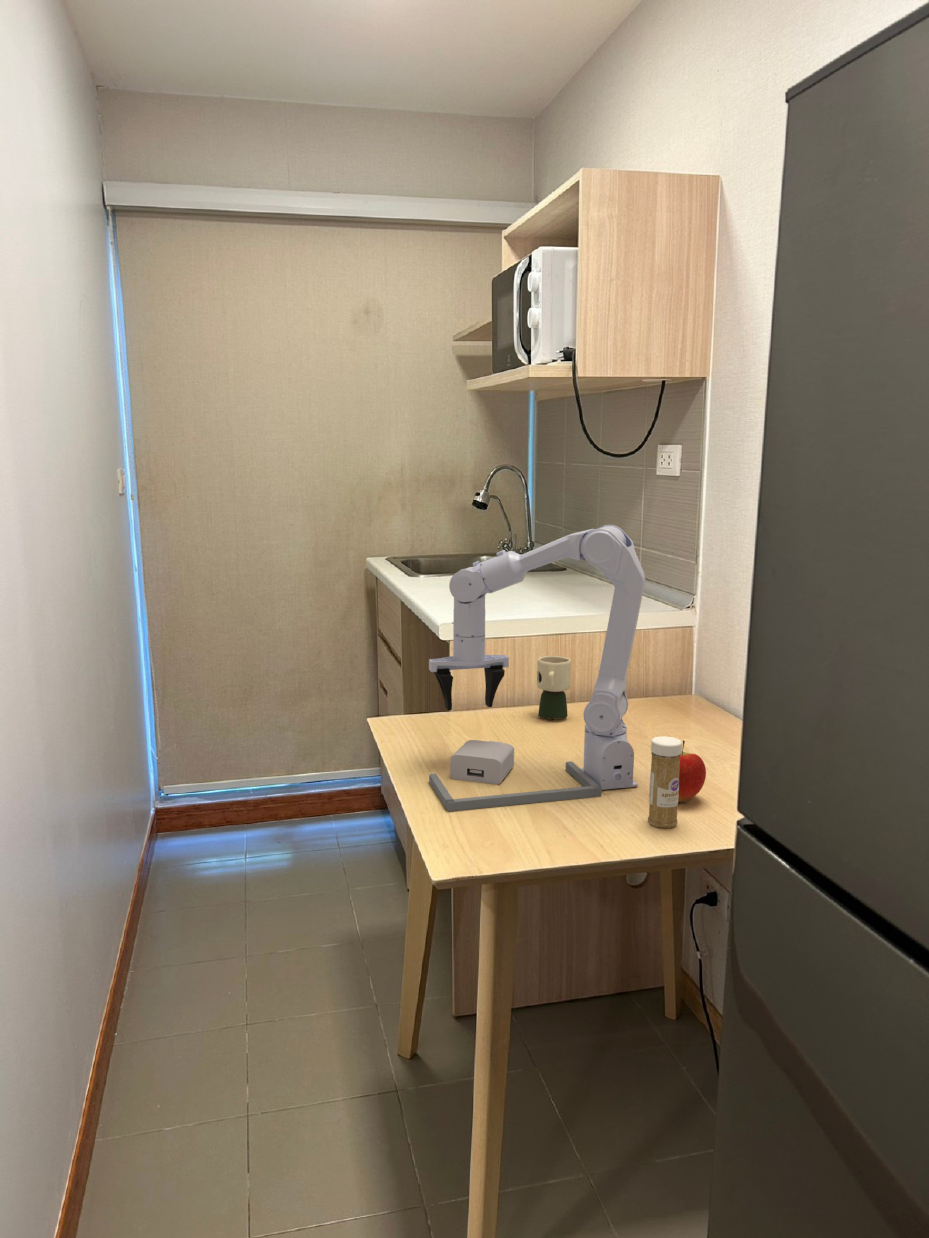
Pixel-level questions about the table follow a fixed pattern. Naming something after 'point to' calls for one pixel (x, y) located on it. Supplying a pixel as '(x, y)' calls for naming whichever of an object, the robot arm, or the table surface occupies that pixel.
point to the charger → (482, 761)
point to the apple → (690, 775)
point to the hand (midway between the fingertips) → (468, 707)
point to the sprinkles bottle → (664, 781)
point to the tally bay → (586, 791)
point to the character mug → (553, 685)
